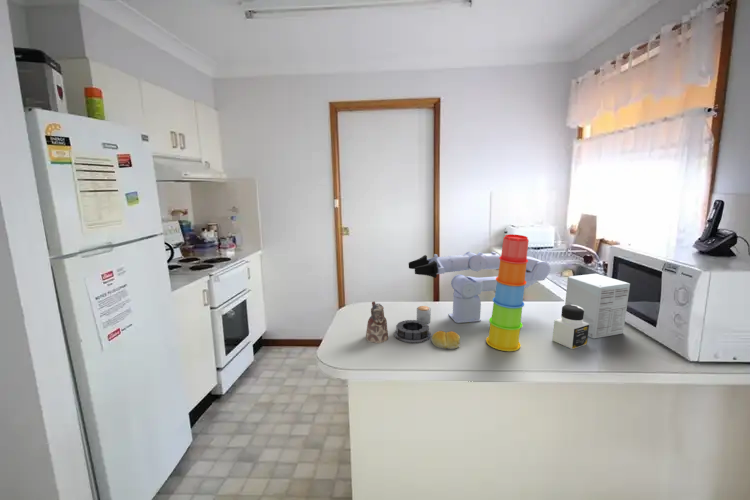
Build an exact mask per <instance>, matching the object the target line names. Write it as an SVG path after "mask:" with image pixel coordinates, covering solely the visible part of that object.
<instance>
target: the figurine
mask: <svg viewBox="0 0 750 500" xmlns="http://www.w3.org/2000/svg"><path fill="white" fill-rule="evenodd" d="M371 306H372V307H371V308H370V317H369V318H368V320H367V324H366V331H365V332H366V333H365V337H366V341H368V342H369V343H370V342H371V343H375V344H382V343H385V342H387V341H388V339H389V331H388V322H387V318H386V317H385V312H384V305H382V304H381V303H376V302H375V301H372V302H371Z"/></svg>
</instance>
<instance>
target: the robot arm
mask: <svg viewBox="0 0 750 500" xmlns="http://www.w3.org/2000/svg"><path fill="white" fill-rule="evenodd" d="M438 255H439V254H436V253H434V254H433V257H430V258H428V256H427V255H426V254H425V255H423V256H421V257H419V258H418V259H414V260H413V261H412V260H411V261H409V262H408V269H411V270H414V274H415V275H419V276H427V277H431V278H434V279H437V277H438V276H437V275H442V274H443V275H444V274H445V273H455V272H462V271H463V272H464V271H469V270H471V271H472V272H473V271H474V272H481V270H499V265H500V259H499V257H500V256H501V255H500V254H499V253H497V252H495V251H490V253H483V252H481V251H479V252H478V253H475V252H471V251H466V252H465V253H464V254H455V255H446V256H445V255H444V256H438ZM527 260H528V262H527V264H526V273H525V281H526V285H525V286H524V289H527V288H529V287H530V286H531V287H532V286H533V285H534V284H535V283H537V282H541V281H545V280H546V278H547V277H548V276H549V275H550V273H551V266H550V264H549V263H548V262H547V261H544V260H541V259H538V258H535V257H533V256H532V255H531V256H528V255H527ZM496 277H498V275H497V276H496V275H495V276H485V277H483V276H481V277H476V276H469V275H468V276H466V275H463V274H456V275H454V276H453V277H452V279H451V284H450V285H451V288H452V289H453V296H452V297H453V298H452V312H451V313H449V314H448V316H449V317H450V318H451V319H452V320H453V321H454V322H455V323H456V324H460V323H473V322H475V323H476V322H481V320H482V319H481V309H482V307H481V306H482V304H481V298H480V295H481V294H482V293H483V292H496V285H497V281H496Z"/></svg>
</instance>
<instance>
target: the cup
mask: <svg viewBox="0 0 750 500" xmlns="http://www.w3.org/2000/svg"><path fill="white" fill-rule="evenodd" d="M431 310H432V309H431V307H429V306H426V305H421V306H417V307H416V320H417V321H422V322H424V323H426V324H427V325H429V324H430V323H431V319H432V317H431V316H432V315H431V313H432V311H431Z"/></svg>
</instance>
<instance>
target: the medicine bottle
mask: <svg viewBox="0 0 750 500" xmlns="http://www.w3.org/2000/svg"><path fill="white" fill-rule="evenodd" d="M583 316H584V310H583V308H581V307H579V306H576V305H565V304H564V305H563V306H562V307H561V315H560V318H557V319H554V321H553V328H552V329H553V331H552V341H553V342H555V343H557V344H559V345H562V346H564V347H566V348H569V349H571V350H575V349H578V348H580V347H583V346H587V344H588V337H589V336H588V330H589V323H586V322H584V321H583Z"/></svg>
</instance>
